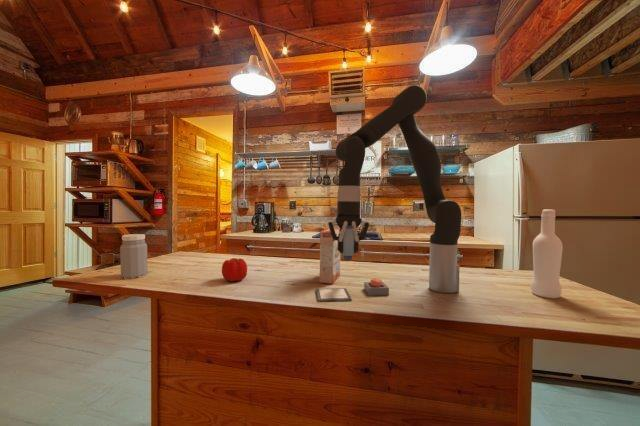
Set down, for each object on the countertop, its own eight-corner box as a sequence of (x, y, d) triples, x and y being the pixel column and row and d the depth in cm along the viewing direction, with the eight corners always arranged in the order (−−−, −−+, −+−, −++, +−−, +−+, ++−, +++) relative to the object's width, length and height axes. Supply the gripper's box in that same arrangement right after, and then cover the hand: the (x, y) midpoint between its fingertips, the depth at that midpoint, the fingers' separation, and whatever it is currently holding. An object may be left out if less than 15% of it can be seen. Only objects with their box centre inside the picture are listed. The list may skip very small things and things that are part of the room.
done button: (379, 285, 96) (379, 278, 96) (383, 288, 92) (383, 281, 92) (369, 285, 95) (369, 278, 95) (372, 289, 91) (372, 282, 91)
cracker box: (333, 284, 102) (333, 231, 101) (319, 283, 104) (319, 231, 103) (341, 275, 115) (341, 228, 114) (328, 274, 117) (328, 227, 116)
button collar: (382, 288, 97) (382, 281, 97) (388, 295, 90) (388, 288, 90) (364, 288, 97) (364, 282, 97) (369, 295, 90) (369, 288, 90)
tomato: (228, 276, 113) (228, 256, 113) (252, 277, 112) (252, 257, 112) (215, 283, 103) (215, 261, 103) (241, 284, 102) (241, 262, 101)
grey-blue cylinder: (352, 258, 87) (353, 224, 87) (355, 260, 83) (356, 225, 83) (340, 258, 87) (341, 224, 87) (342, 260, 83) (343, 225, 82)
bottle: (532, 289, 97) (534, 209, 95) (561, 295, 91) (565, 209, 90) (529, 294, 91) (531, 209, 90) (560, 301, 85) (563, 209, 84)
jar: (114, 278, 109) (113, 236, 108) (134, 272, 119) (133, 233, 118) (134, 279, 108) (133, 236, 107) (153, 273, 117) (152, 234, 117)
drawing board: (345, 289, 96) (345, 287, 96) (351, 300, 85) (351, 298, 85) (316, 290, 95) (316, 288, 95) (318, 301, 84) (318, 299, 84)
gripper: (367, 200, 89) (365, 250, 89) (325, 200, 88) (325, 250, 88) (373, 200, 81) (372, 255, 82) (328, 199, 80) (327, 255, 81)
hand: (347, 252), depth 85 cm, fingers closed on grey-blue cylinder, 4 cm apart
